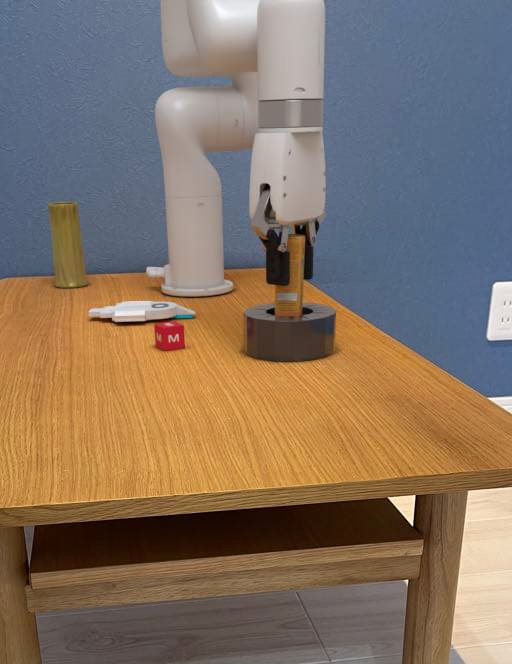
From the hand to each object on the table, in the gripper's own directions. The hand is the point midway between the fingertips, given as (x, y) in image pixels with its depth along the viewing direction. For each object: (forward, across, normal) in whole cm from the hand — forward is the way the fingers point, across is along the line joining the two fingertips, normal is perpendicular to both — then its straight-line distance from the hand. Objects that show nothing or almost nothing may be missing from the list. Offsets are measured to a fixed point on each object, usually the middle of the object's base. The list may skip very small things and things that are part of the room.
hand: (289, 280), depth 106 cm
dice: (+9, +7, -14) cm, 18 cm away
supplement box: (+5, 0, 0) cm, 5 cm away
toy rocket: (+9, -4, -30) cm, 32 cm away
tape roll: (+9, 0, 0) cm, 9 cm away
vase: (+9, -18, -62) cm, 65 cm away
